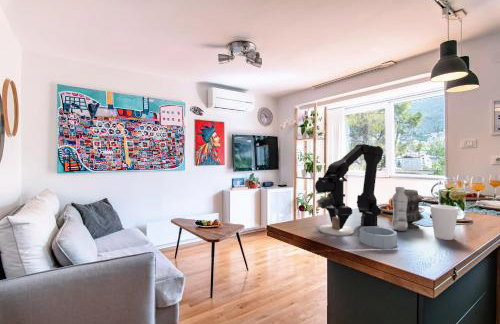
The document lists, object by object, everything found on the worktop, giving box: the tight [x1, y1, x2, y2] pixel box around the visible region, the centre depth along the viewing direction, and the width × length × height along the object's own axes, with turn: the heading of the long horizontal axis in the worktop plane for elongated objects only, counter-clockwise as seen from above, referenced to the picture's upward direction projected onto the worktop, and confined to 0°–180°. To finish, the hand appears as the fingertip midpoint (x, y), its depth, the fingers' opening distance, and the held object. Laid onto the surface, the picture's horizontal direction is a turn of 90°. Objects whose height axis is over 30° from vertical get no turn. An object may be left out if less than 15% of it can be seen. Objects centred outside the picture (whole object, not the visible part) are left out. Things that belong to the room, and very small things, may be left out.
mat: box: [313, 225, 360, 238], centre depth 116 cm, size 16×16×1 cm
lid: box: [319, 216, 355, 237], centre depth 116 cm, size 15×15×6 cm
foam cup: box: [430, 204, 459, 241], centre depth 108 cm, size 10×9×13 cm
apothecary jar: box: [404, 188, 423, 230], centre depth 125 cm, size 12×12×18 cm
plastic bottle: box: [391, 186, 408, 232], centre depth 118 cm, size 6×7×20 cm
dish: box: [359, 226, 398, 250], centre depth 101 cm, size 13×13×5 cm
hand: (336, 225), depth 116 cm, fingers open, 9 cm apart
